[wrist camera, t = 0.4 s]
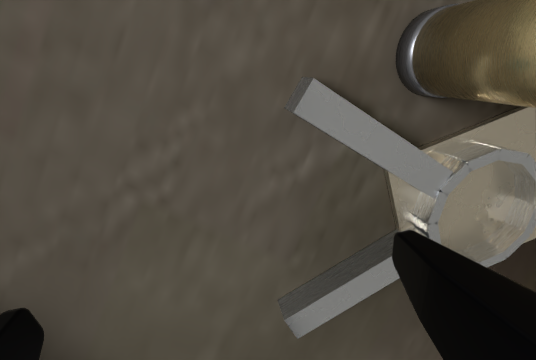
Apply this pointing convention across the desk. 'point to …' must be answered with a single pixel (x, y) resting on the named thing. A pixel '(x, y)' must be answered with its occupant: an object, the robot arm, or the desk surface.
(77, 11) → the desk surface
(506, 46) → the glass jar
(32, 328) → the robot arm
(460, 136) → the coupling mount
